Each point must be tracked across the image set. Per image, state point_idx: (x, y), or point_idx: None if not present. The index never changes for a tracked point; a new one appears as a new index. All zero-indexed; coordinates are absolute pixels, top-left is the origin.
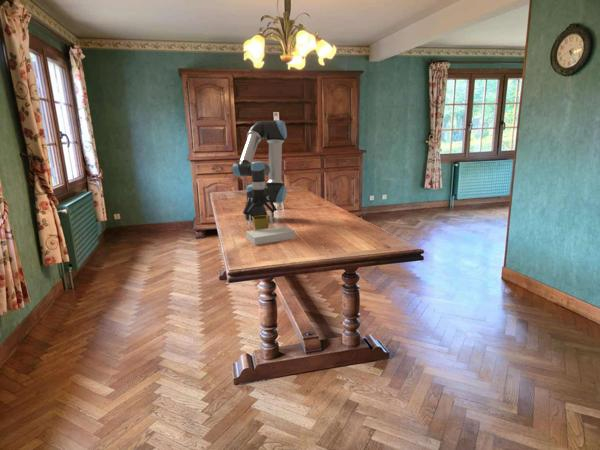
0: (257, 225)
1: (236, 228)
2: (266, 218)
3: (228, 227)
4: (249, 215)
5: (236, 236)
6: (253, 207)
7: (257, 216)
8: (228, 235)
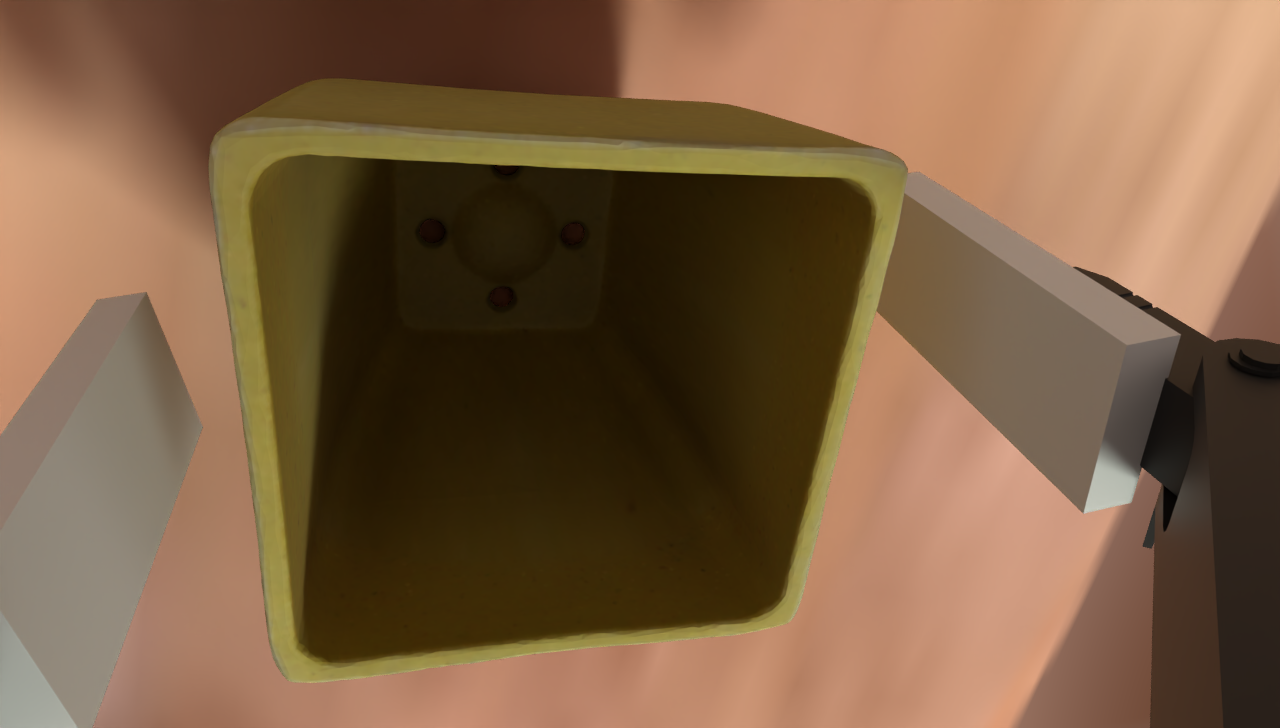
0: (710, 107)
1: (884, 592)
2: (349, 152)
3: (964, 664)
4: (1162, 333)
5: (1121, 72)
6: (1266, 675)
7: (618, 620)
8: (1195, 215)
